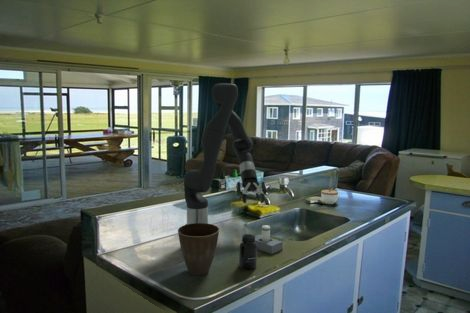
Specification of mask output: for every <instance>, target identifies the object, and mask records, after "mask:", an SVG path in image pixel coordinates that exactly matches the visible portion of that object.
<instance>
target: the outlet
mask: <svg viewBox="0 0 470 313" xmlns="http://www.w3.org/2000/svg"><path fill="white" fill-rule="evenodd" d="M254 236H255V243H256V244H257V250H259V251H262V252H265V253H267V254H271V255H274V254H276V253H278V252H281V251H282V250H283V241H281V240H278V239H275V238H271V237H270V242H267V243H265V242H262V234H256V235H254Z"/></svg>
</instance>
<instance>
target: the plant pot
mask: <svg viewBox="0 0 470 313" xmlns="http://www.w3.org/2000/svg"><path fill="white" fill-rule="evenodd" d="M186 224H187V223H186ZM177 233H178V239H179V246H180V248H181V249H180V251H181V252H182V257H183V260H184V262H185V266H186V267H187V271H188V273H189V274H191V275H193V276H204V275H206V274H208V273H209V271H210V269H211V265H212V264H213V260H214V257H215V253H216V250H217V245H218V240H219V233H220V228H219V227H218V225H215V224H212V223H208V224H207V223H193V224H187V225H185V224H184V225H182V226H180V227H178V229H177Z"/></svg>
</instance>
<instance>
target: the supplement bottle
mask: <svg viewBox="0 0 470 313" xmlns="http://www.w3.org/2000/svg"><path fill="white" fill-rule="evenodd" d="M255 236H256V235H254V234H251V233H250V234H248V233H247V234H242V237H241V238H242V239H241V241H242V242H240V244H239V248H238V249H239V250H238V252H239V253H238V266H239V268H240V269H242V270H246V271H251V270H255V269H256V268H257V266H258V249H257V244H256V243H255Z"/></svg>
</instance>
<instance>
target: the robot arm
mask: <svg viewBox="0 0 470 313" xmlns="http://www.w3.org/2000/svg"><path fill="white" fill-rule="evenodd" d="M238 88H239V87H238V86H237V85H236V84H235V83H226V82H225V83H222V82H221V83H216V84H214V85H213V87H212V88H211V97H212V100H213V102H214V103H215V105H216V107H217V108H218V111H217V112H216V114H215V115H214V116H212V118H210V120H209V121H208V122H207V123H206V125H205V127H204V129H203V133H202V136H201V139H200V141H201V142H200V144H201V148H202V152H203V153H202V154H203V163H202V166H201V169H200V170H199V169H189V170H188V171H187V172H185V175H184V178H183V179H184V180H183V186H184V187H183V190H184V200H185V203H186V223H185V224H184V225H187V224H193V223H207V224H209V201H208V199H207V198H206V197H204V196H203V195H202V193H207V192H208V191H209V190H210V189H211V186H212V184H213V179H214V176H215V170H216V165H217V161H218V157H219V153H220V151H221V146H222V145H223V141H224V138H225V134H226V130H227V128H228V129H229V132H230V134H231V137H232V138H233V139H234V140H233V142H232V144H231V146H232V149H233V151H234V153H235V155H236V157H237V159H238V160H237V161H238V164H239V173H240V179H241V182H240V181H237V182H236V184H235V187H236V194H237V196H241V200H242V202H243V203H244V204H246V203H247V197H246V196H247V195H246V192H248V193H250V192H252V193H253V192H254V193H256V194H257V195H259V199H260V203H261V204H263V203H264V202H265V200H266V199H265V196H266V195H267V192H268V190H267V186H266V183H265V181H262V182H259V181H258V176H257V172H256V167H255V163H254V159H253V155H252V154H251V153H250V151H251V150H252V149H253V148H254V142H253V140H252V138H251V136H249V135H248V133H247V132H246V130H245V127H244V124H243V122H242V120H241V118H240V117H239V116H238V114H237V113H236V112H235V111H234V108H235V105H236V104H237V103H236V102H237V101H238V97H239V89H238ZM248 151H249V152H248ZM241 187H242V188H243V191H242V188H241Z"/></svg>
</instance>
